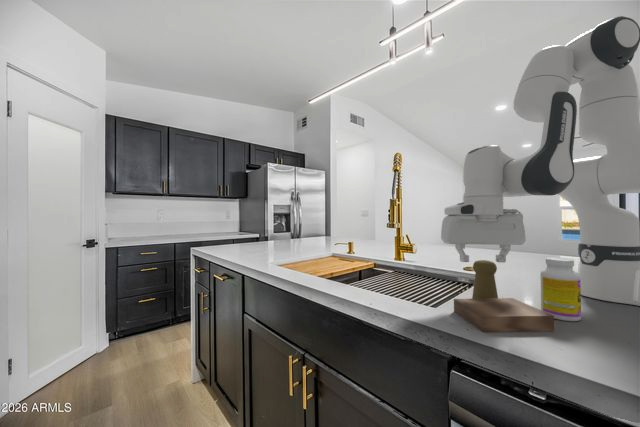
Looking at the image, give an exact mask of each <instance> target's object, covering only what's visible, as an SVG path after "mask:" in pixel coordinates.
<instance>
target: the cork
mask: <svg viewBox="0 0 640 427" xmlns="http://www.w3.org/2000/svg"><path fill="white" fill-rule="evenodd" d="M472 268H473V271H474V273H475V275H474V281H473V282H474V283H473V289H472V297H471V299H483V298H499V295H498V290H497V284H496V283H497V282H496V276H495V275H496V272H497V269H498V268H497V265H496V263H495V262H494V261H491V260H487V259H485V260H482V259H481V260H475V261H474V262H473V264H472Z"/></svg>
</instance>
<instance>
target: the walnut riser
mask: <svg viewBox="0 0 640 427" xmlns="http://www.w3.org/2000/svg"><path fill="white" fill-rule="evenodd" d="M453 312H454V313H455V314H457V315H458V316H459V317H461V318H463V319H464V320H466V321H467V322H468V323H469V324H471V325H472V326H474V327H475V328H476V329H478V330H480V331H481V333H482V332H483V333H509V332H510V333H512V332H514V333H516V332H517V333H518V332H519V333H521V332H554V331H555V319H554V316H553V315H551V314H549V313H546V312H544V311H542V310H541V309H539V308H536V307H534V306H532V305H529V304H527V303H525V302H522V301H521V300H517V299H515V298H513V297H500V298H499V297H498V298H483V299H472V298H453Z"/></svg>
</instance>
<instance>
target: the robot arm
mask: <svg viewBox="0 0 640 427" xmlns="http://www.w3.org/2000/svg"><path fill="white" fill-rule="evenodd" d="M639 45H640V26H639V24H638V23H637V21H635V20H634V19H632V18H631V17H627V16H622V15H619V16H616V17H613V18H610V19H607V20H606V21H602V23H600V24H598V25H596V26H595V28H593V29H590V30H589V31H586V32H585V33H582V34H580V35H579V36H577V37H576V38H574V39H573V40H570V41H569V42H568V43H567V44H566V45H558V44H557V45H552V46H547V47H545V48H543V49H540V50H539V51H538V52H536V53H535V54H534V55H533V56H532V58H531V59H530V61H529V63H528V64H527V65H526V68H525V70H524V72H523V74H522V76H521V78H520V81H519V83H518V86H517V89H516V92H515V94H514V99H513V110H514V112H515V114H516V115H517V116H518V117H519V118H521V119H522V120H525V121H528V122H532V123H543V126H542V134H541V140H540V147H539V148H538V149H537V150H536V151H535V152H534V153H532V154H530V155H527V156H525V157H520V158H517V159H516V158H514V157H511V156H509V155H508V154H506V153H505V152H503V151H502V149H501V146H500V145H498V144H489V145H483V146H479V147H477V148H475V149H472V150H469V152H467V154H466V155H465V158H464V164H463V177H462V178H463V180H462V181H463V185H464V194H463V197H462V198H463V201H462V202H460V203H459V202H458V203H457V204H453V205H449V206H446V207H444V210H443V211H444V215H445V216H444V218H443V220H442V223H441V231H440V232H441V233H440V238H441V241H442V242H443V243H444V244H448V245H455V247H454V248H455V250H456V251H457V253H458V254H459V262H461V263H469V262H470V255H468V254H466V253H465V249H466V245H484V246H485V245H489V246H491V245H493V246H495V245H496V246H497V245H498V246H499V249H500V251H499V253H498V254H495V262H496V263H503V264H505V263H506V262H507V256H508V254H509V252H510V251H511V246H523V244H525V243H526V238H527V237H526V230H525V223H524V215H523V213H522V212H521V211H520V210H518V209H515V208H512V209H509V208H508V209H507V208H504V198H513V197H514V198H515V197H517V198H518V197H530V196H555V195H558V196H560V197H562V198H563V199H565V200H566V201H567V202H568V203H569V204H570V205H571V206H572V207H573V209H574V211H575V213H576V215H577V219H578V226H579V227H578V228H579V238H580V242H579V243H578V247H577V251H578V256H579V261H578V266H577V271H576V272H577V273H578V274H579V275H580V284H581V296H585V297H588V298H592V299H595V300H601V301H606V302H610V303H611V302H612V303H619V304H627V305H634V306H639V307H640V219H639V218H638V216H637V215H636V214H635V213H634V212H632V211H630V210H627V209H625V208H621V207H618V206H615V205H613V204H611V202H610V200H609V198H608V197H609V196H608V195H621V194H623V195H625V194H640V115H639V114H640V113H639V93H638V92H639V91H638V84H637V78H636V75H635V72H634V69H633V67H632V66H631V64H630V63H631V62H632V60H633V59H634V56H635V53H636V51H637V50H638V48H639ZM575 84H579V86H580V88H581V90H580V96H579V108H578V106H577V102H576V97H574V95H573V94H571V93H570V92H569V90H570V88H571V87H570V86H572V85H575ZM577 109H578V110H577ZM577 112H578V114H577ZM577 115H578V134H579V137H580V138H581V139H582V140H583V141H585V142H588V143H590V144H596V145H600V146H601V145H602V146H605V148H606V154H603V155H598V156H591V157H585V158H578V159H574V157H573V156H574V154H573V153H574V146H575V145H574V144H575V133H576V125H577V124H576V123H577Z"/></svg>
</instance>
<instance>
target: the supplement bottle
mask: <svg viewBox="0 0 640 427" xmlns="http://www.w3.org/2000/svg"><path fill="white" fill-rule="evenodd" d="M545 264H546V268H543V269H542V270H541V271H540V310H542V311H544V312H546V313H549V314H551V315H553V316H554V320H559V321H566V322H578V321H581V320H582V295H581V284H580V275H579V274H578V273H577V271H575V270H574V266H575V261H574V259H570V258H564V257H546V258H545Z"/></svg>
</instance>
